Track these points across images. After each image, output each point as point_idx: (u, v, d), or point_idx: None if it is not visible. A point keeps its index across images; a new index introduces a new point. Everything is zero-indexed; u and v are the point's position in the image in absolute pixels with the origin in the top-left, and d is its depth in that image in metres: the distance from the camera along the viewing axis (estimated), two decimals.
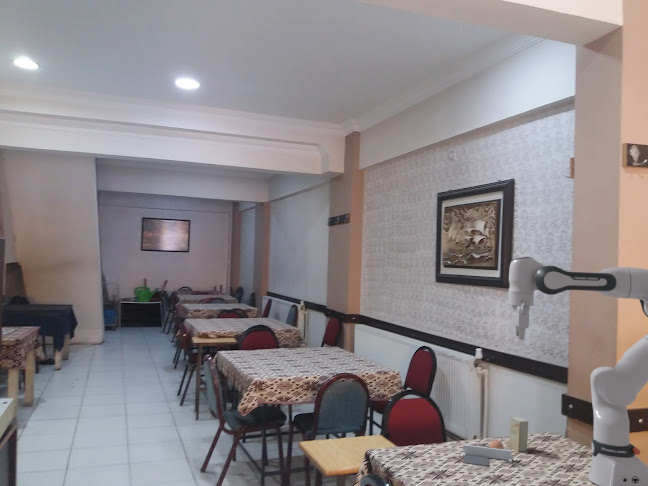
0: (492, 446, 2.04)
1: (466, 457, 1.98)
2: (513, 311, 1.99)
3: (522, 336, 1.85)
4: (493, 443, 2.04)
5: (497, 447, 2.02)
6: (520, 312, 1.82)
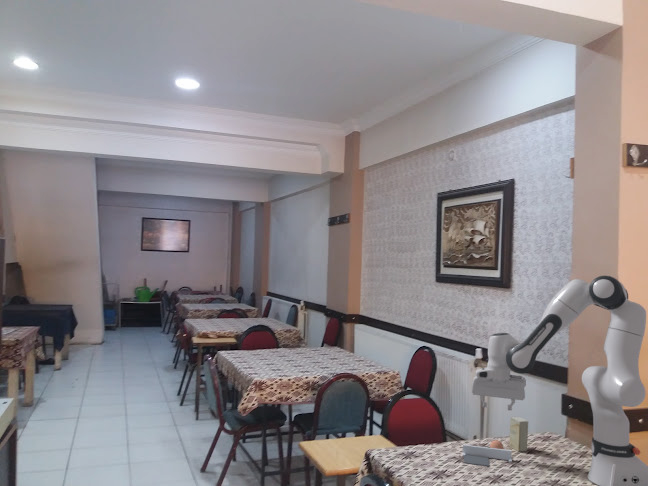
0: (492, 446, 2.04)
1: (466, 457, 1.98)
2: (478, 384, 2.06)
3: (511, 406, 2.04)
4: (493, 443, 2.04)
5: (497, 447, 2.02)
6: (523, 386, 2.02)
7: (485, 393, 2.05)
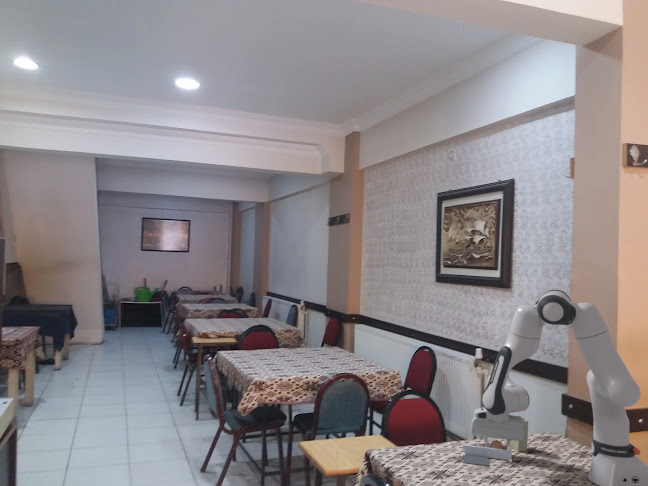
0: (492, 446, 2.04)
1: (466, 457, 1.98)
2: (477, 424, 2.05)
3: (507, 446, 2.04)
4: (493, 443, 2.04)
5: (497, 447, 2.02)
6: (523, 427, 2.01)
7: (484, 434, 2.04)
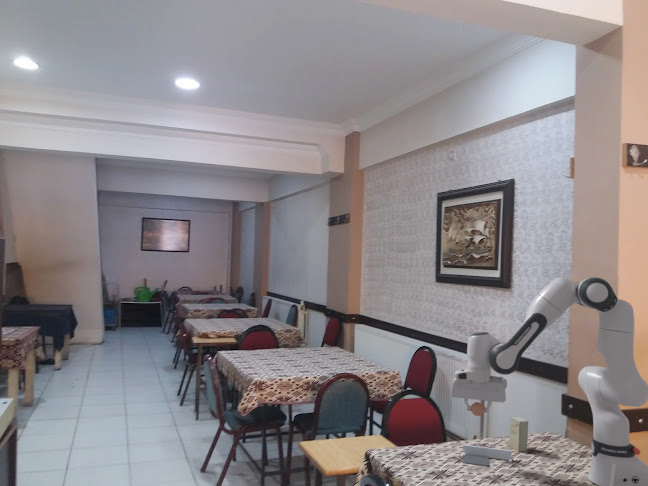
0: (473, 408, 1.96)
1: (466, 457, 1.98)
2: (458, 386, 1.98)
3: None
4: (474, 405, 1.96)
5: (478, 409, 1.95)
6: (504, 387, 1.94)
7: (465, 395, 1.97)
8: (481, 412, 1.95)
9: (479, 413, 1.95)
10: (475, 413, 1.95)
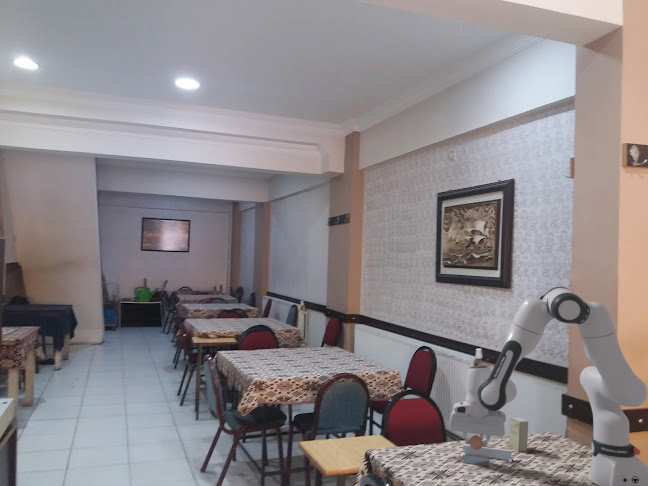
0: (471, 442, 1.95)
1: (466, 457, 1.98)
2: (456, 419, 1.97)
3: (486, 442, 1.95)
4: (472, 438, 1.95)
5: (476, 443, 1.94)
6: (503, 422, 1.93)
7: (463, 429, 1.96)
8: (480, 446, 1.94)
9: (478, 447, 1.94)
10: (474, 447, 1.94)
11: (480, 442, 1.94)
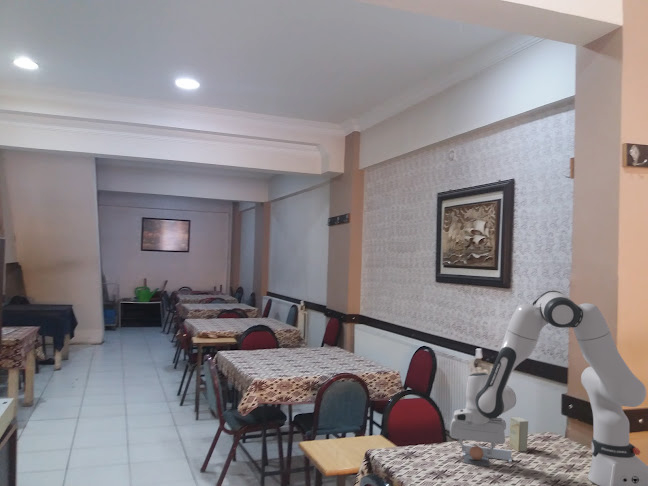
0: (471, 452, 1.95)
1: (466, 457, 1.98)
2: (457, 427, 1.97)
3: (491, 450, 1.95)
4: (473, 449, 1.95)
5: (477, 453, 1.94)
6: (503, 429, 1.93)
7: (464, 436, 1.96)
8: (480, 456, 1.94)
9: (478, 458, 1.94)
10: (474, 457, 1.95)
11: (480, 452, 1.94)
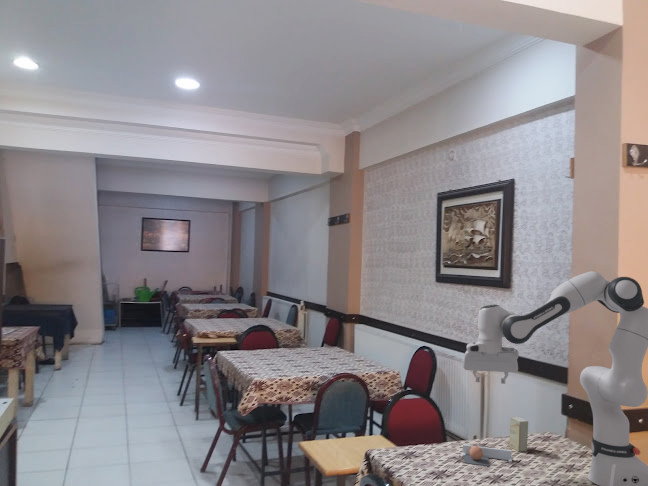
0: (471, 452, 1.95)
1: (466, 457, 1.98)
2: (470, 358, 2.00)
3: None
4: (472, 449, 1.96)
5: (476, 453, 1.94)
6: (516, 358, 1.96)
7: (477, 368, 1.99)
8: (480, 456, 1.94)
9: (478, 457, 1.94)
10: (474, 458, 1.95)
11: (480, 452, 1.94)
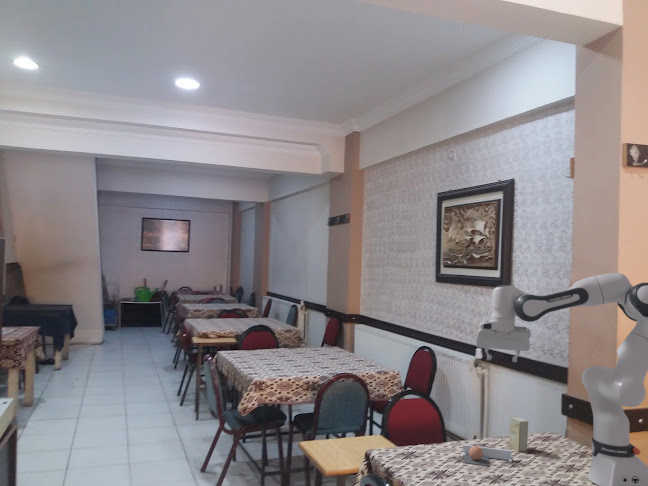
0: (471, 452, 1.95)
1: (466, 457, 1.98)
2: (483, 336, 2.04)
3: (516, 358, 2.02)
4: (472, 449, 1.96)
5: (476, 453, 1.94)
6: (528, 337, 2.00)
7: (489, 345, 2.03)
8: (480, 456, 1.94)
9: (478, 457, 1.94)
10: (474, 458, 1.95)
11: (479, 452, 1.94)
